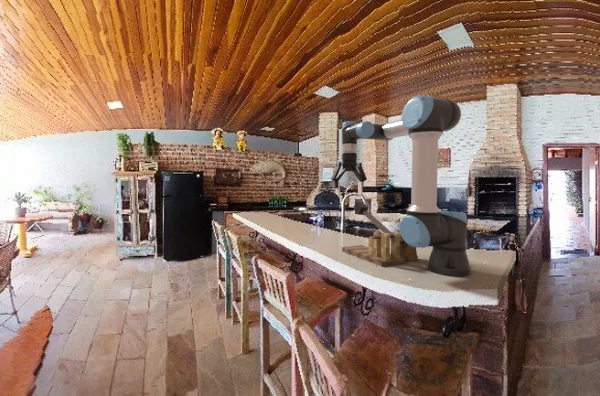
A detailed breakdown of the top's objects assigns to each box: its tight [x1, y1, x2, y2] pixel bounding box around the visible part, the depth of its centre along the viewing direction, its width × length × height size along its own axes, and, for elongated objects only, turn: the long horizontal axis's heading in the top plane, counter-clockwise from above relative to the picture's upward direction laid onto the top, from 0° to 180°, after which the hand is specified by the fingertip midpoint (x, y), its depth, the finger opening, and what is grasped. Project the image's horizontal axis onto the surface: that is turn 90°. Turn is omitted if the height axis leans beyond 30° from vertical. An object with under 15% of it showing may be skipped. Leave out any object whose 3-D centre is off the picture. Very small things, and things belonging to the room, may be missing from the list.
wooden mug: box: [399, 233, 419, 263], centre depth 134 cm, size 9×14×18 cm, turn 129°
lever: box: [352, 201, 394, 239], centre depth 135 cm, size 26×4×4 cm, turn 25°
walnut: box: [372, 230, 383, 239], centre depth 133 cm, size 4×4×4 cm
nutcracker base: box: [341, 231, 406, 267], centre depth 138 cm, size 30×12×13 cm, turn 24°
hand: (349, 194), depth 154 cm, fingers open, 13 cm apart
